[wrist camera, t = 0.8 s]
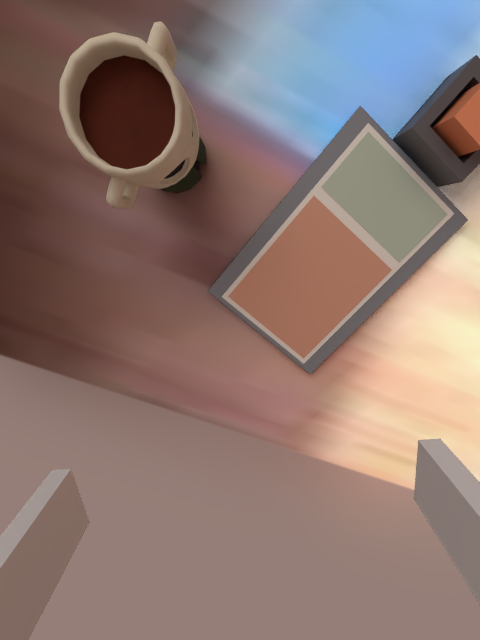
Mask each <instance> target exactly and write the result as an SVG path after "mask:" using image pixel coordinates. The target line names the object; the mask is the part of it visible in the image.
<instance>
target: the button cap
mask: <svg viewBox="0 0 480 640" xmlns="http://www.w3.org/2000/svg"><path fill="white" fill-rule="evenodd" d="M432 129H433V130H434V131H435V132H436V134H437V135H438V136H439V137H440V138H441V139H442V140H443V141H444V142H445V143H446V145H447V146H448V147H449V148H450V149H451V150H452V151H453V152H454V153H455V155H456V156H457V157H459V156H462V155H465V154H468V153H471V152H474V151H477V150H480V83H479V84H477V85H475V86H474V87H472V88H471V89H469V90H467V91H466V92H464V93H463V94H462V95H461V97H460V98H459V99H458V100H457V101H456V102H455V103H454V104H453V105H452V106H451V108H450V109H449V110H448V111H447V112H446V113H445V114H444V115H443V116H442V118H441V119H440V120H439V121H438V122H437V123H436V124H435V125H434V126H433V127H432Z"/></svg>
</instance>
